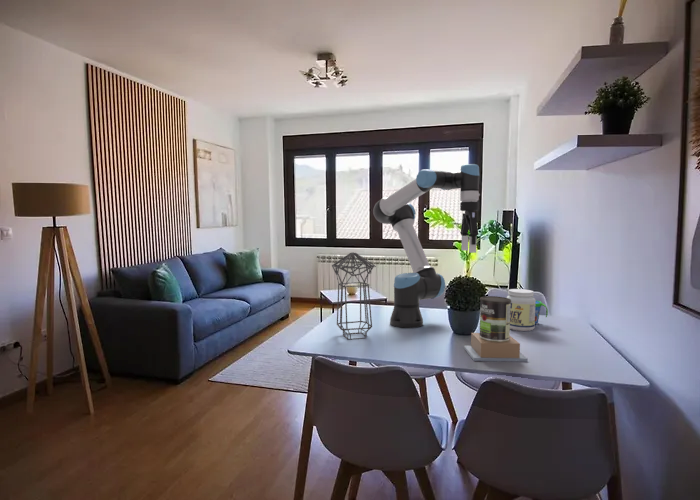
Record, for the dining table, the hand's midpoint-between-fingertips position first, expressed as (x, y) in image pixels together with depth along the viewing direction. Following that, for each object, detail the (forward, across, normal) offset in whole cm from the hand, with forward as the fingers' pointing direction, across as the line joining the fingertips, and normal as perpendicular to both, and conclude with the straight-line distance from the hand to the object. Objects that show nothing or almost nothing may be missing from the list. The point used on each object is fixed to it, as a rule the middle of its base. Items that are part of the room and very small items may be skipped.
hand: (468, 251), depth 173 cm
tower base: (+35, -31, -2) cm, 47 cm away
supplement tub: (+35, +7, -25) cm, 43 cm away
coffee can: (+29, -31, -2) cm, 42 cm away
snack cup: (+35, +17, -33) cm, 51 cm away
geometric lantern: (+35, -9, +49) cm, 61 cm away
